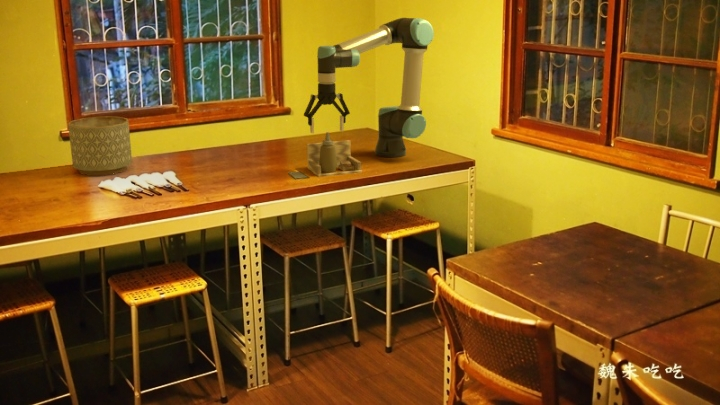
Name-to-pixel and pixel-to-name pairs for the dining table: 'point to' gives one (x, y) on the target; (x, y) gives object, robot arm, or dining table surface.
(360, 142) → the dining table surface
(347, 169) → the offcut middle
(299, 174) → the mat
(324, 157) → the squeeze bottle
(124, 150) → the planter
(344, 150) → the rack
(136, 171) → the dining table surface
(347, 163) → the offcut top
